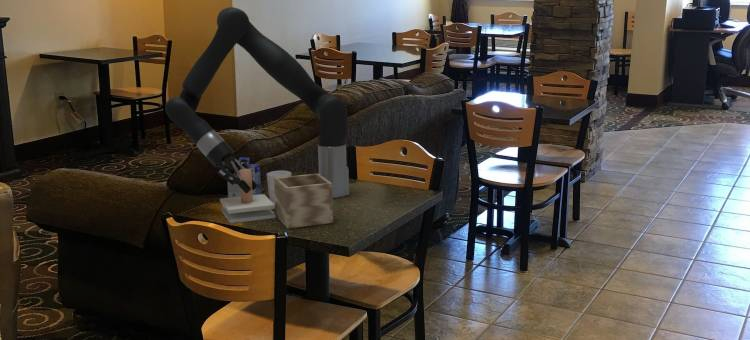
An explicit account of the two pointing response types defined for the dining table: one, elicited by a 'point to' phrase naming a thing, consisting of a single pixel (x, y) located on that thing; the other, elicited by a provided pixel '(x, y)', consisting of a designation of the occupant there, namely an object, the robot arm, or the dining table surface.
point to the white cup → (271, 182)
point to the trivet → (248, 215)
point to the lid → (246, 198)
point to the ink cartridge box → (255, 169)
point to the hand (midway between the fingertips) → (252, 189)
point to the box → (303, 200)
